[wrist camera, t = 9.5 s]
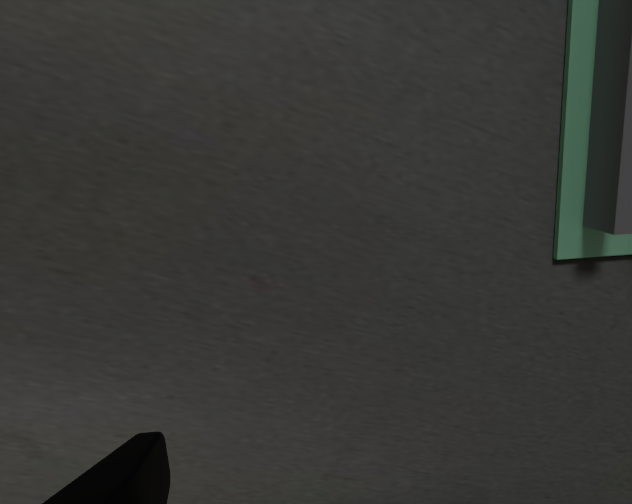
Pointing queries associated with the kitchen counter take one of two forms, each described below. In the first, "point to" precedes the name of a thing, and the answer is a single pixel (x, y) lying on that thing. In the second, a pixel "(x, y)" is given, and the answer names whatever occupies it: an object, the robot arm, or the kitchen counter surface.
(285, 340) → the kitchen counter surface
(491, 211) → the kitchen counter surface
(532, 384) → the kitchen counter surface
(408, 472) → the kitchen counter surface
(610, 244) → the header socket
